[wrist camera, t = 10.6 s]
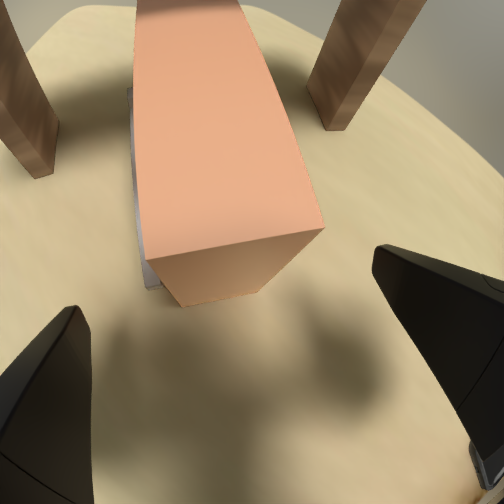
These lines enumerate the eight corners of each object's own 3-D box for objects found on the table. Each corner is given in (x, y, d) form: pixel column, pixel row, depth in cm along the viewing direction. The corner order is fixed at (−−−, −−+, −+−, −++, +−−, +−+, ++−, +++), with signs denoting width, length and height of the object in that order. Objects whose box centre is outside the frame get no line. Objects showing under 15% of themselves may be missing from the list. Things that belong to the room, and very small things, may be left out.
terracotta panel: (257, 292, 17) (325, 227, 7) (182, 307, 16) (145, 260, 6) (215, 113, 19) (228, -18, 10) (155, 122, 19) (138, -9, 9)
